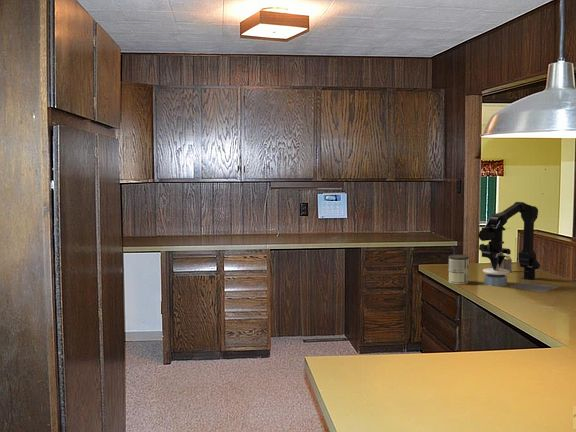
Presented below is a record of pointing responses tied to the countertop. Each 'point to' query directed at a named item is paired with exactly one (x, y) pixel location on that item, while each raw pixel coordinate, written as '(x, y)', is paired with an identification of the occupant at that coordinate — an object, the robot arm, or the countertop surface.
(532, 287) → the mat
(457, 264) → the coffee can
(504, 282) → the bowl
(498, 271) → the lid
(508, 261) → the architectural model on board
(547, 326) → the countertop surface
